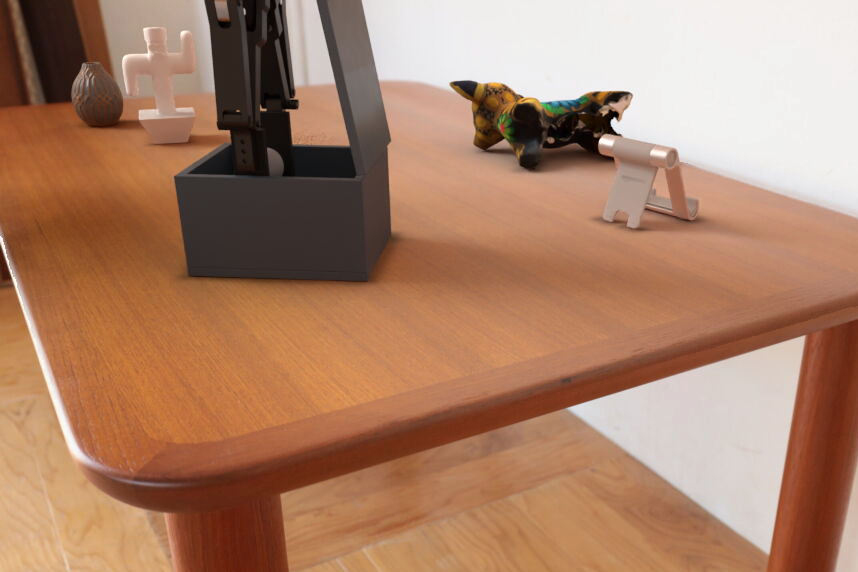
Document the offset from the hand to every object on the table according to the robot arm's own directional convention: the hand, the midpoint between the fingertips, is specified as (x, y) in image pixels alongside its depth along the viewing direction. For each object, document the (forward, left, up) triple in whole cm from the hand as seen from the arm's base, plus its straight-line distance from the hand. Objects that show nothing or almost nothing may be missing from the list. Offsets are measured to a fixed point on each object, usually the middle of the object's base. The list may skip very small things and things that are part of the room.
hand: (268, 193), depth 79 cm
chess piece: (0, 0, -5) cm, 5 cm away
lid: (+8, -1, +11) cm, 14 cm away
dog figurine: (+35, +36, -6) cm, 50 cm away
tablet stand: (+38, +5, -6) cm, 39 cm away
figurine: (-14, +52, -6) cm, 55 cm away
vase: (-25, +65, -6) cm, 70 cm away
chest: (+2, 0, -6) cm, 6 cm away
